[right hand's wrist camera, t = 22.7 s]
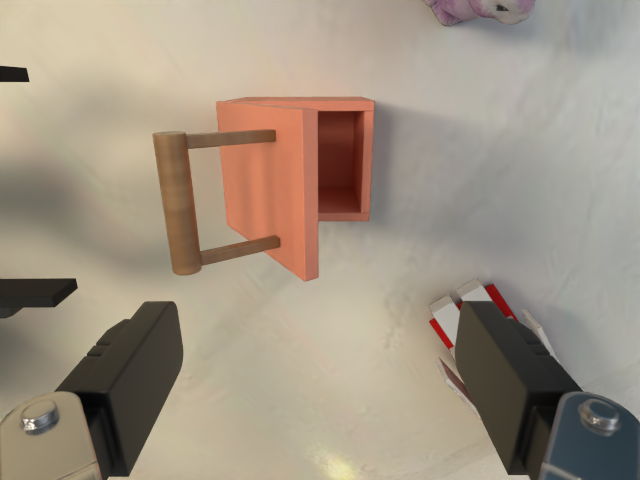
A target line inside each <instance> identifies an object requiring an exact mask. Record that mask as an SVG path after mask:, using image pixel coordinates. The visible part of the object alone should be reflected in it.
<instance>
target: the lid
mask: <svg viewBox="0 0 640 480" xmlns="http://www.w3.org/2000/svg"><path fill="white" fill-rule="evenodd" d="M216 107H217V118H218V129H219V132H215V133H200V134H186V133H185V132H158V133H154V134H153V142H154V148H155V155H156V162H157V168H158V175H159V182H160V188H161V195H162V202H163V208H164V215H165V222H166V228H167V235H168V242H169V248H170V255H171V262H172V269H173V272H174V273H175V274H177V275H191V274H195V273H197V272H199V271H200V270H201V269H202V266H203V265H207V264H211V263H216V262H220V261H224V260H228V259H233V258H237V257H241V256H245V255H249V254H254V253H258V252H262V251H264V252H265V253H266V254H268V255H269V256H271V257H272V258H273V259H275V260H276V261H277V262H279V263H280V264H281V265H283V266H284V267H286V268H287V269H288V270H290V271H291V272H292V273H294V274H295V275H297V276H298V277H299V278H301V279H302V280H303V281H309V280H312V279H315V278H318V110H317V109H314V108H302V107H290V106H278V105H266V104H254V103H242V102H230V101H219V102H216ZM217 146H220V151H221V162H222V173H223V184H224V195H225V206H226V217H227V225H228V226H230V227H231V228H232V229H234V230H235V231H236V232H238V233H239V234H241V235H242V236H243V237H245V238H246V239H247V240H249V241H246V242H242V243H237V244H233V245H228V246H223V247H219V248H214V249H210V250H205V251H200V246H199V238H198V229H197V221H196V213H195V204H194V196H193V188H192V179H191V171H190V163H189V154H188V149H193V148H205V147H217Z"/></svg>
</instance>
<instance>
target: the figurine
mask: <svg viewBox="0 0 640 480" xmlns="http://www.w3.org/2000/svg"><path fill="white" fill-rule="evenodd" d="M423 1H424V2H425V3H426V4H427V5H428V6H430V7H432V10H433V11H434V13H435V15H436V17H437V19H438V20H439V22H440V23H441V24H443V25H445V26H446V25H448V26H450V25H453V24H454V23H457V22H460V21H461V22H462V21H464V20H467V21H468V20H473V19H477V18H480V17H488V18H493V19H496V20H498V21H500V22H501V23H503V24H506V25H512V24H517V23H519V22H521V21H523V20H526V19H527V18H529V17H530V16H531V14H532V12H533V9H534V5H535V0H423Z"/></svg>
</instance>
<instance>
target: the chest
mask: <svg viewBox="0 0 640 480" xmlns="http://www.w3.org/2000/svg"><path fill="white" fill-rule="evenodd" d="M228 101H230V102H242V103H254V104H266V105H278V106H290V107H302V108H314V109H317V110H318V221H369V212H370V192H371V170H372V147H373V125H374V103H375V101H373V100H370V99H366V98H363V97H245V98H240V99H234V100H228Z"/></svg>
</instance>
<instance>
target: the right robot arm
mask: <svg viewBox="0 0 640 480" xmlns="http://www.w3.org/2000/svg"><path fill="white" fill-rule="evenodd" d="M182 362H183V344H182V337H181V331H180V324H179V317H178V310H177V306H176V304H175V303H174V302H172V301H147V302H144V303H143V304H142V305H141V307H140V308H139V309H138V310H137V312H136V313H135V314H134V315H133V317H132V318H131V319H124V320H123V321H121V322H120V323H118V324H116V325H115V326H113V327H112V328H110V329H109V330H107V331H106V332H105V334H104V335H103V336H102V337H101V338H100V339H99V341H98V342H97V343H96V346H93V347H92V349H91V350H90V351H89V352H88V353H87V357H84V358H83V359H82V360H81V361H80V362H79V364H78V365H77V366H76V367H75V368H74V369H73V371H72V372H71V373H70V374H69V375H68V376H67V378H66V379H65V380H64V381H63V382H62V383H61V384H60V386H59V387H58V388H57V389H56V390H55V391H54V392H51V393H47V394H43V395H40V396H37V397H35V398H32V399H30V400H28V401H26V402H24V403H22V404H21V405H19V406H17V407H16V408H15V409H13V410H12V411H11V412H10V413H9V414H7V415H6V416H5V418H4V419H3V420H2V421H1V423H0V480H107V479H108V477H129V475H130V473H131V471H132V469H133V467H134V465H135V463H136V460H137V458H138V456H139V454H140V452H141V450H142V448H143V446H144V444H145V442H146V440H147V438H148V436H149V434H150V432H151V430H152V428H153V426H154V424H155V422H156V419H157V417H158V415H159V413H160V411H161V409H162V407H163V405H164V403H165V401H166V399H167V397H168V395H169V393H170V391H171V389H172V387H173V385H174V383H175V381H176V379H177V376H178V374H179V372H180V370H181V367H182ZM455 362H456V366H457V369H458V372H459V374H460V376H461V378H462V380H463V382H464V384H465V386H466V388H467V390H468V393H469V395H470V397H471V399H472V401H473V403H474V405H475V407H476V409H477V411H478V413H479V415H480V417H481V419H482V422H483V424H484V426H485V428H486V430H487V432H488V434H489V436H490V438H491V440H492V442H493V444H494V446H495V448H496V451H497V453H498V455H499V457H500V459H501V461H502V463H503V465H504V467H505V469H506V471H507V473H508V475H528V476H529V478H530V480H640V423H639V421H638V420H637V419H636V418H635V416H634V415H633V414H631V413H630V412H629V411H628V410H627V409H625V408H624V407H623V406H621V405H619V404H618V403H616V402H614V401H612V400H610V399H608V398H605V397H603V396H600V395H597V394H593V393H589V392H583V391H582V389H581V388H580V387H579V386H578V385H577V384H576V382H575V381H574V380H573V379H572V378H571V377H570V376H569V374H568V373H567V372H566V371H565V370H564V369H563V367H562V366H561V365H560V364H559V363H558V362H557V360H556V359H555V358H554V357H553V356H550V352H549V351H548V350H547V349H546V348H545V346H544V345H541V342H540V341H539V339H538V338H537V337H536V336H535V335H534V334H533V332H532V331H531V330H530V329H529V328H527V327H525V326H524V325H522V324H521V323H519V322H518V321H516V320H515V319H507V318H506V317H505V315H504V314H503V313H502V312H501V310H500V309H499V308H498V307H497V305H496V304H495V303H494V302H493V301H464V302H463V303H462V305H461V309H460V315H459V322H458V329H457V336H456V343H455Z"/></svg>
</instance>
